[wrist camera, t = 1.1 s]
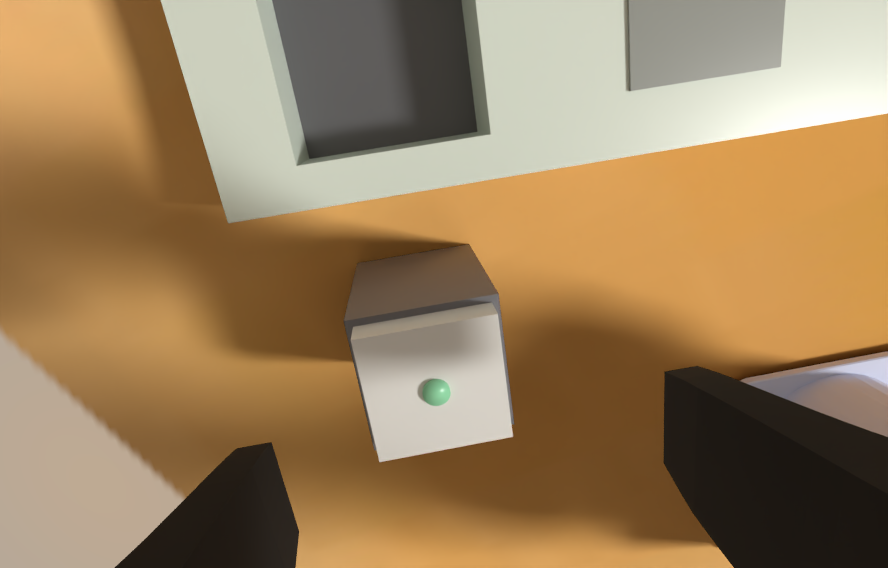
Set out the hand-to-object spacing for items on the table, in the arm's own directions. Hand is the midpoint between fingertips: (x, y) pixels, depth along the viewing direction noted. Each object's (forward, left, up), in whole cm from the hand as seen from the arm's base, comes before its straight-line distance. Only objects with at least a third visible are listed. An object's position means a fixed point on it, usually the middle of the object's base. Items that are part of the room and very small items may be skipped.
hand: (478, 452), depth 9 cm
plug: (-1, +1, -10) cm, 10 cm away
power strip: (+8, -8, -9) cm, 14 cm away
